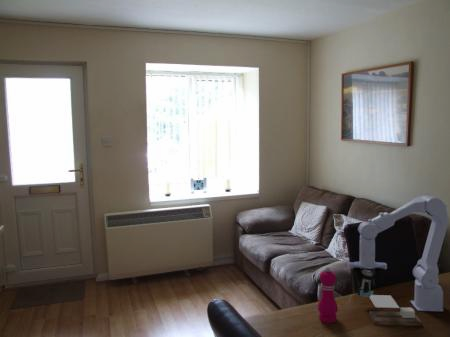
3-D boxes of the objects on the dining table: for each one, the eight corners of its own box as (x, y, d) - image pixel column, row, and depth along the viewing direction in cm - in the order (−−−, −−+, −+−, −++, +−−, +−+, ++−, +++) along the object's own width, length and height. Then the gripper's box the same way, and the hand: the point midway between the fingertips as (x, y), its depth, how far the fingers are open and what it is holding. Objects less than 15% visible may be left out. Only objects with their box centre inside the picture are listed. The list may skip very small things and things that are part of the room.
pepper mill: (338, 315, 143) (338, 264, 141) (337, 325, 136) (337, 271, 134) (318, 313, 145) (318, 262, 143) (316, 322, 139) (316, 269, 137)
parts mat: (390, 296, 158) (390, 295, 158) (399, 308, 147) (399, 307, 147) (368, 295, 159) (368, 294, 159) (375, 307, 148) (375, 307, 148)
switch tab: (411, 314, 139) (411, 307, 139) (414, 318, 136) (414, 311, 136) (400, 313, 140) (400, 307, 139) (403, 317, 137) (403, 311, 136)
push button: (368, 292, 154) (372, 268, 153) (377, 298, 149) (380, 274, 148) (354, 292, 152) (357, 269, 151) (362, 299, 147) (366, 274, 146)
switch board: (413, 316, 141) (413, 312, 141) (421, 325, 134) (421, 321, 134) (369, 315, 143) (369, 310, 143) (374, 324, 136) (374, 320, 136)
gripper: (350, 255, 145) (350, 289, 147) (389, 256, 144) (389, 290, 145) (346, 250, 152) (346, 282, 154) (384, 250, 151) (383, 283, 152)
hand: (366, 285), depth 150 cm, fingers closed on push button, 5 cm apart
